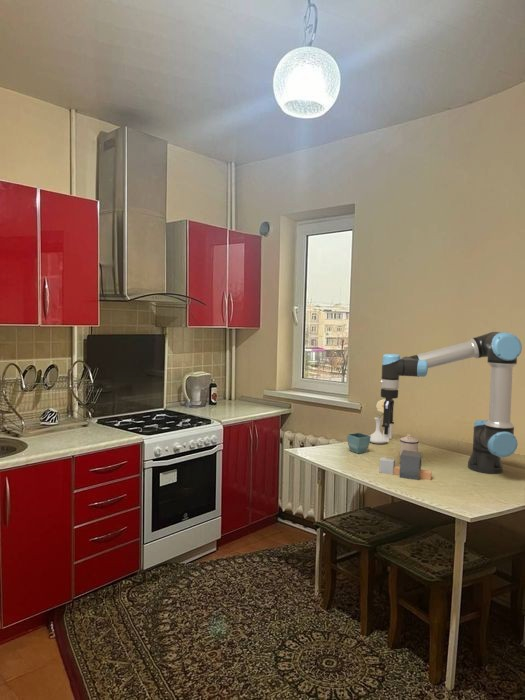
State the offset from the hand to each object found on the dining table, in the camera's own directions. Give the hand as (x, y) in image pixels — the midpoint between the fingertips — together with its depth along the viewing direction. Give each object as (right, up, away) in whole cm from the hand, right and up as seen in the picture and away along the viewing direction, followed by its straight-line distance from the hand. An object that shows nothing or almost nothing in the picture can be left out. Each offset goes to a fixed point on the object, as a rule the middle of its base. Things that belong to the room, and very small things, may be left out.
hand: (387, 439), depth 226 cm
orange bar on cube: (+7, -15, -2) cm, 17 cm away
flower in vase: (+9, -12, +55) cm, 57 cm away
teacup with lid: (+17, -14, +28) cm, 36 cm away
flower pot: (-7, -13, +34) cm, 37 cm away
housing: (+9, -15, -3) cm, 18 cm away
